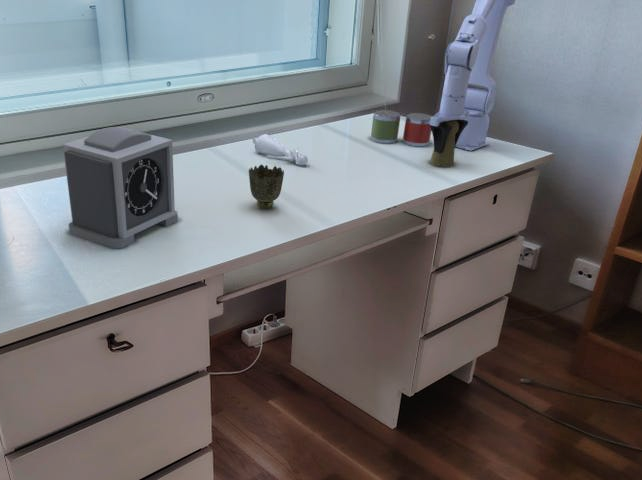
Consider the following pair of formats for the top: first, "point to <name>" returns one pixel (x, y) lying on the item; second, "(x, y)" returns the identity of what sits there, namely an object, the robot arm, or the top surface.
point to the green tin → (385, 126)
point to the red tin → (417, 129)
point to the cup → (265, 184)
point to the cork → (446, 148)
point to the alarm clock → (119, 185)
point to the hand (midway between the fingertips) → (444, 150)
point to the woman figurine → (277, 150)
